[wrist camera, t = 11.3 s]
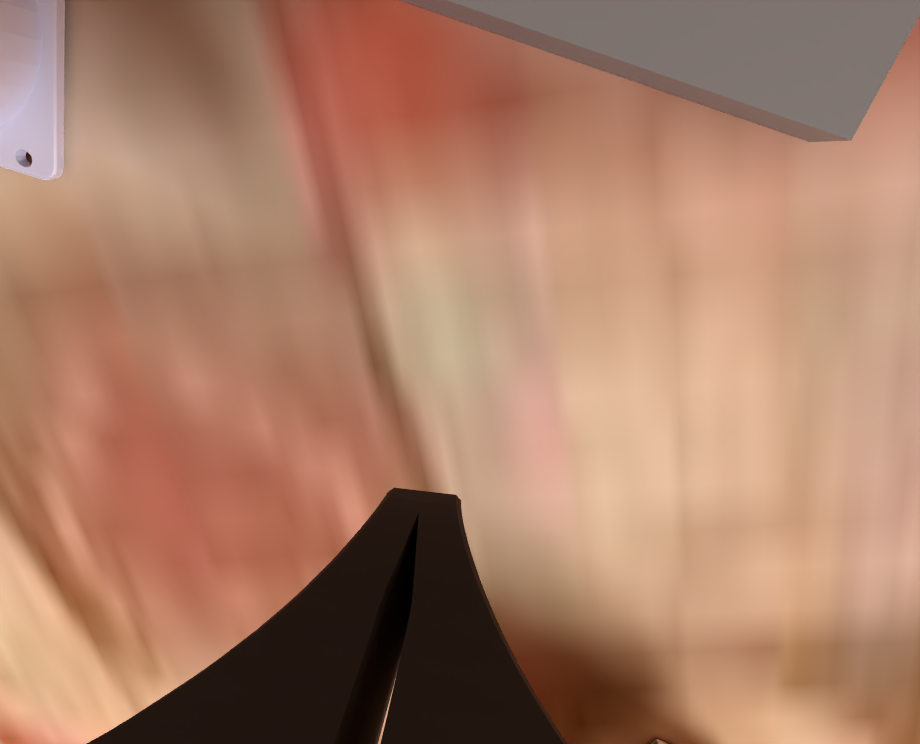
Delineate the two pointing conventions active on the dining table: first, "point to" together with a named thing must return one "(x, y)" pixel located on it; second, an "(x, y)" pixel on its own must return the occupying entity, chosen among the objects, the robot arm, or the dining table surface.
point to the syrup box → (658, 742)
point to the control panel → (722, 50)
